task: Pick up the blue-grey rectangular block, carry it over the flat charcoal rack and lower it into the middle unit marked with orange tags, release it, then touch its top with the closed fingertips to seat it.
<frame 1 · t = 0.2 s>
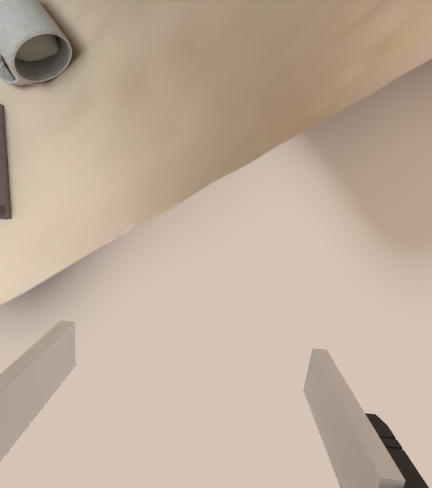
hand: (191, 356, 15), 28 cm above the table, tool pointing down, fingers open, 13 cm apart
ceramic mug: (37, 54, 37), on the table
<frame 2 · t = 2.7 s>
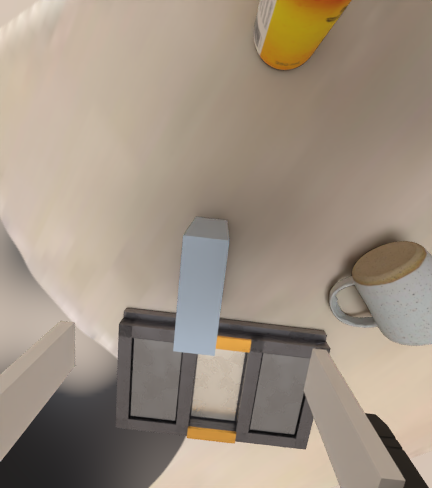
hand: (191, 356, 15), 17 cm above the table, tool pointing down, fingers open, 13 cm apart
blue-grey rectangular block: (206, 261, 31), on the table
ceramic mug: (371, 284, 32), on the table
rack: (217, 375, 35), on the table
beer can: (284, 38, 26), on the table
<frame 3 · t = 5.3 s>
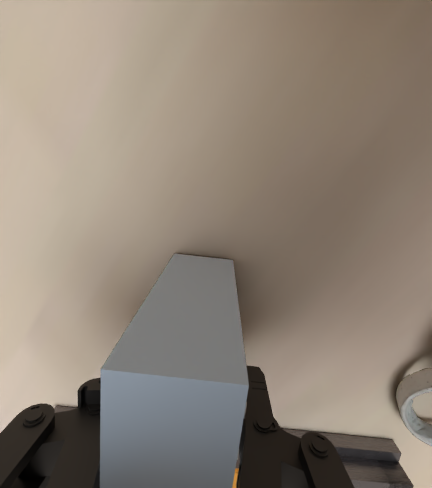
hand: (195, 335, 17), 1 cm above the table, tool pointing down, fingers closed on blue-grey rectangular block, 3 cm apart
blue-grey rectangular block: (196, 331, 17), on the table, touching gripper
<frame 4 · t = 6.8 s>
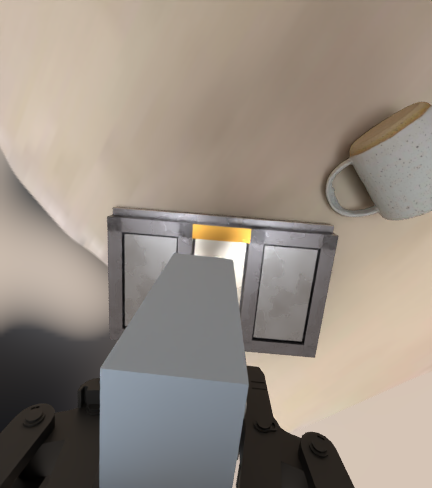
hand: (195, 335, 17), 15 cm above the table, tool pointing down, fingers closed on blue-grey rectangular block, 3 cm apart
blue-grey rectangular block: (195, 331, 17), point 15 cm above the table, touching gripper
ceramic mug: (371, 174, 29), on the table
rack: (217, 282, 32), on the table
when the fingers open (3 cm above the table, at t = 8.8 s): blue-grey rectangular block drops 2 cm, resting on rack.
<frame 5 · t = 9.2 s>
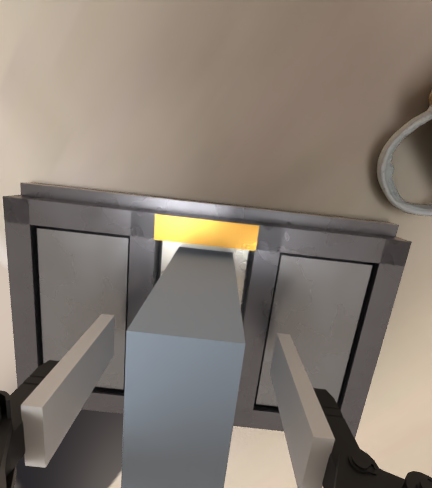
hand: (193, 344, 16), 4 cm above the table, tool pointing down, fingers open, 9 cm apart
blue-grey rectangular block: (198, 318, 19), point 1 cm above the table, touching rack
rack: (199, 311, 20), on the table
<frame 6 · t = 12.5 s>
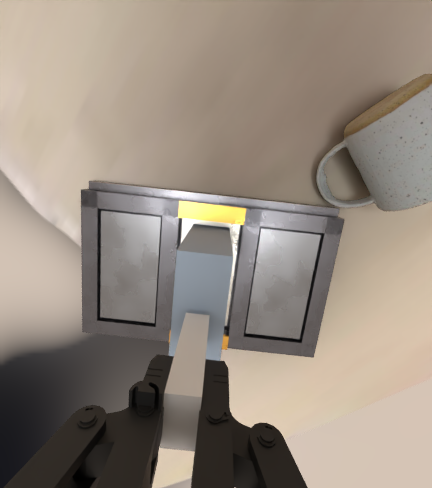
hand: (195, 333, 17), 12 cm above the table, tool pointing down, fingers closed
blue-grey rectangular block: (206, 273, 28), point 1 cm above the table, touching rack
ceramic mug: (367, 161, 26), on the table
rack: (206, 270, 29), on the table
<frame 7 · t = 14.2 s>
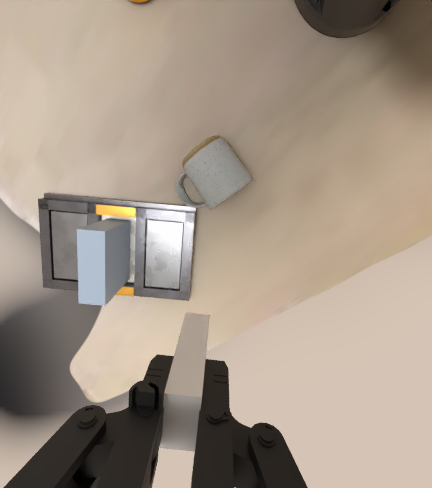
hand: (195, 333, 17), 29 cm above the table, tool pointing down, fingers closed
blue-grey rectangular block: (119, 249, 45), point 1 cm above the table, touching rack
ceramic mug: (210, 180, 43), on the table
rack: (121, 247, 46), on the table
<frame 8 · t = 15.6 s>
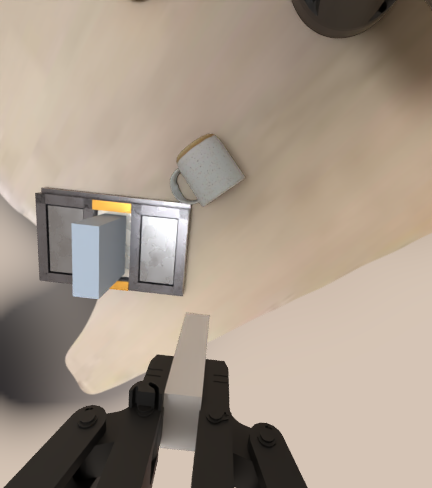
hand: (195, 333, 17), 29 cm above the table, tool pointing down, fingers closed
blue-grey rectangular block: (114, 244, 45), point 1 cm above the table, touching rack
ceramic mug: (204, 177, 44), on the table
rack: (117, 242, 46), on the table
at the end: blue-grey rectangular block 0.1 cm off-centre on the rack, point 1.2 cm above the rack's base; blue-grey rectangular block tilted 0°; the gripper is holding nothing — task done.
